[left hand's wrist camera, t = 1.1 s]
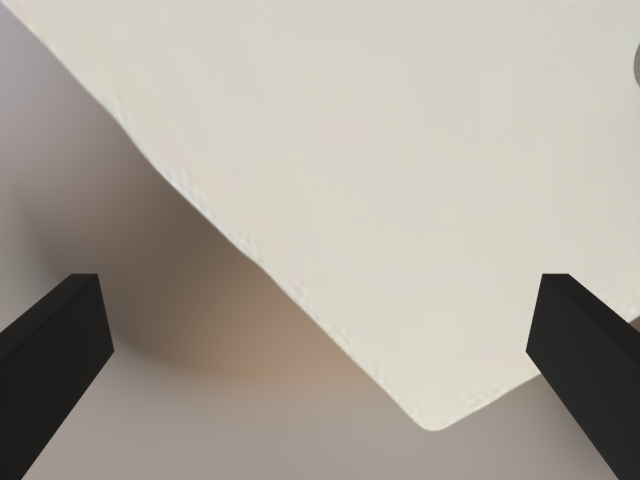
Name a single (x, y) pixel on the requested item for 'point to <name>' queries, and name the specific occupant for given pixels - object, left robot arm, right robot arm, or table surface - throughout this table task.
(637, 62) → the bottle
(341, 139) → the table surface
